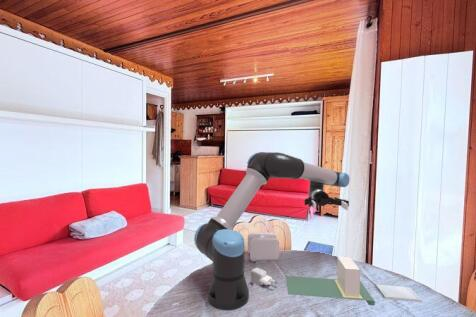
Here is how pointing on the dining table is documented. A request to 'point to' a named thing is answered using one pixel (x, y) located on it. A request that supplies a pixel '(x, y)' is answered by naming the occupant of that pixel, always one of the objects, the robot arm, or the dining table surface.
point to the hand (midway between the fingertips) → (330, 206)
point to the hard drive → (398, 293)
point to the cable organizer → (263, 246)
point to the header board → (322, 288)
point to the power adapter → (261, 277)
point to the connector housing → (348, 276)
